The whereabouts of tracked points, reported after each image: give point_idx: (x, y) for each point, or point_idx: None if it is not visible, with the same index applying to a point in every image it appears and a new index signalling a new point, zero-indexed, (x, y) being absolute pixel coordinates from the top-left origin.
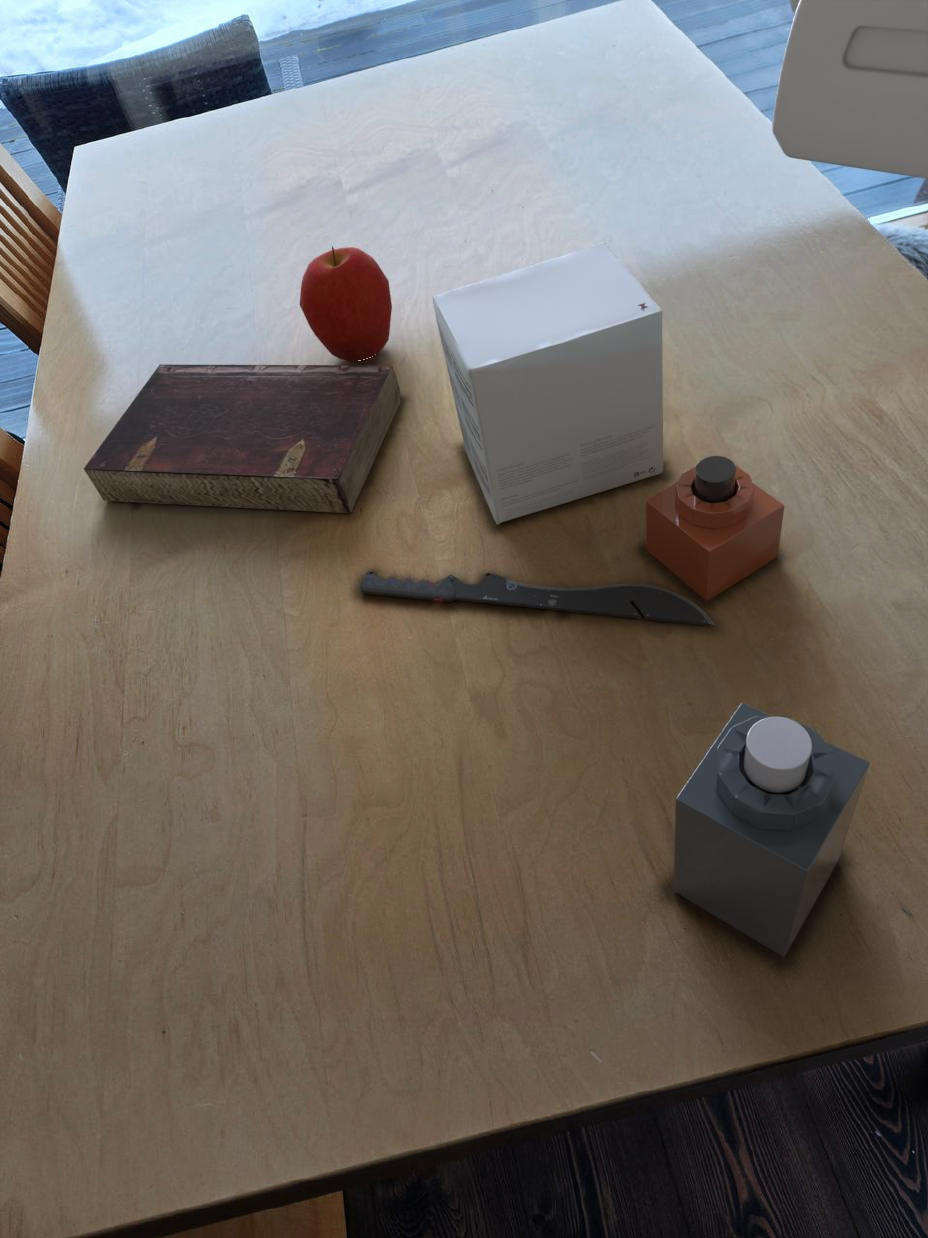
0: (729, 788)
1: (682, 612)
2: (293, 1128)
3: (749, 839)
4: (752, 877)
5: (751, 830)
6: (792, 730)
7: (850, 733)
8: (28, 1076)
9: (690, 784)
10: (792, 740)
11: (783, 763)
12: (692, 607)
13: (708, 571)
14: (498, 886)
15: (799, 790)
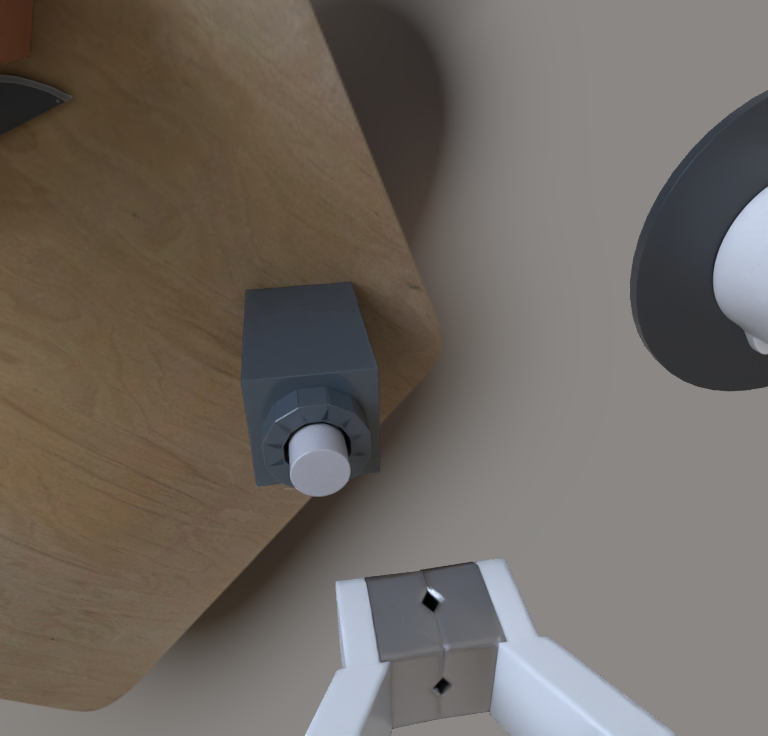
0: None
1: (23, 103)
2: (171, 613)
3: None
4: None
5: None
6: (324, 458)
7: (294, 149)
8: (15, 693)
9: (258, 471)
10: (329, 466)
11: (335, 487)
12: (26, 88)
13: (8, 62)
14: (142, 456)
15: (349, 458)
